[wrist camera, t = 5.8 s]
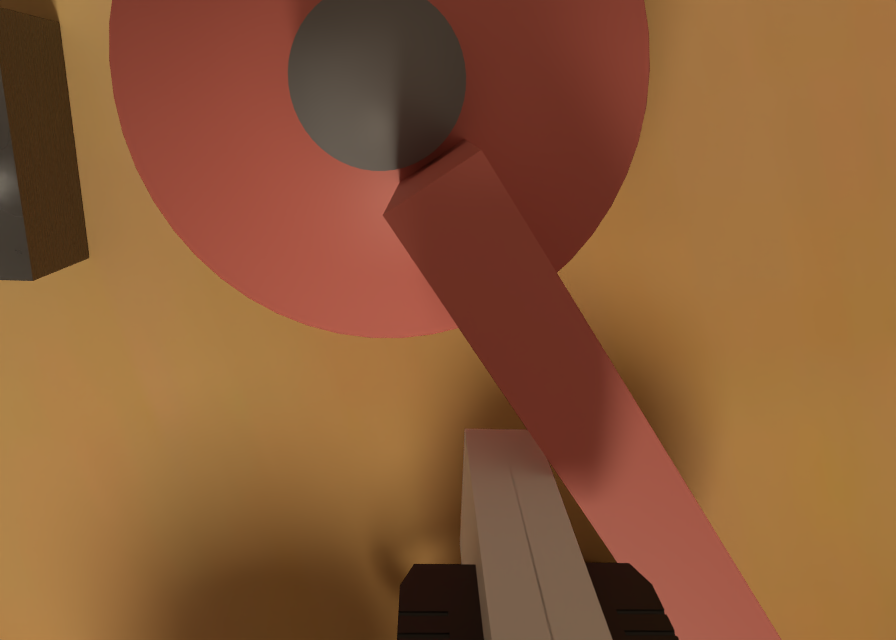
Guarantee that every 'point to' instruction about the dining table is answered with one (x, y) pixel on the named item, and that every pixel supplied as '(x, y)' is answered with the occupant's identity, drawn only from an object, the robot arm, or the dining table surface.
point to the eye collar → (36, 153)
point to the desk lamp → (431, 212)
